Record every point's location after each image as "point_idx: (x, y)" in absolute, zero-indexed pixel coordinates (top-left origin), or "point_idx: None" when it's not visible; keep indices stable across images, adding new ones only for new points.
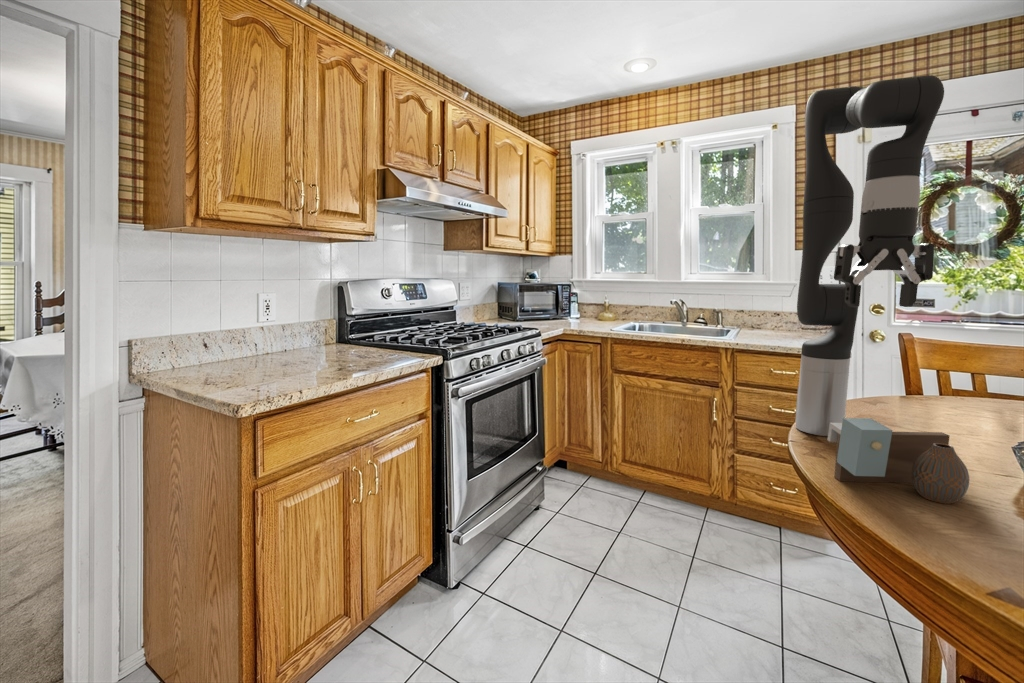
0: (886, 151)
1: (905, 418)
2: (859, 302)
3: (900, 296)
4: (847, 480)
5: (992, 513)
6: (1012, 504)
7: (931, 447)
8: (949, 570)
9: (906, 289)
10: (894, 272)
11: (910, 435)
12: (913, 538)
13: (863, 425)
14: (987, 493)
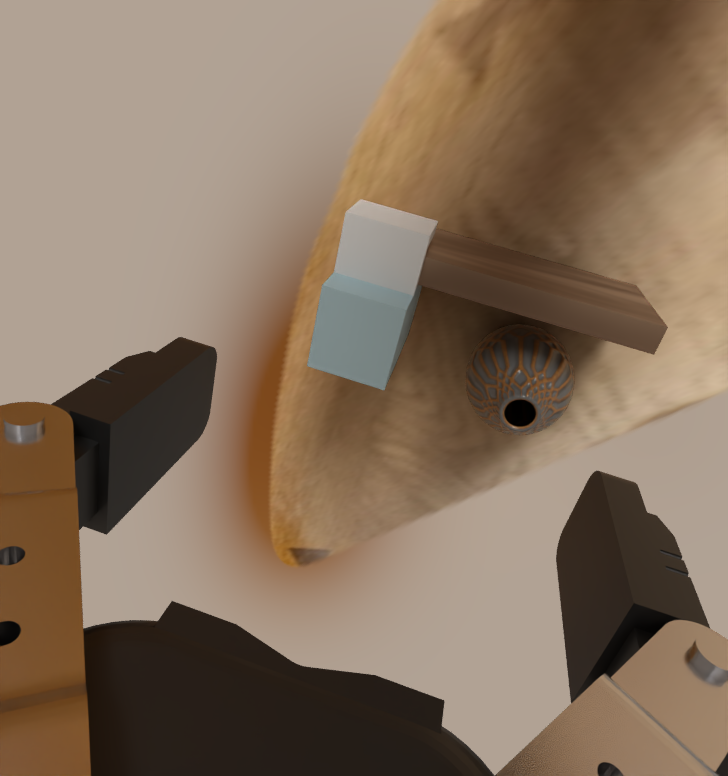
0: None
1: None
2: (189, 447)
3: (609, 516)
4: None
5: (550, 433)
6: (644, 420)
7: (501, 395)
8: (292, 511)
9: (586, 622)
10: (601, 679)
11: (539, 320)
12: (318, 448)
13: (335, 345)
14: (662, 372)
